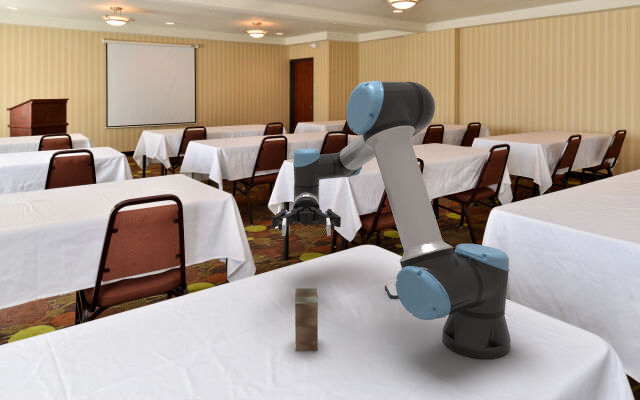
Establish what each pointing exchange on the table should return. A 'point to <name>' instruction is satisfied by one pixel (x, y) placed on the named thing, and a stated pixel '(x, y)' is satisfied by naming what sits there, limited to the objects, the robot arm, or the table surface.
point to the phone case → (391, 291)
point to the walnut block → (306, 319)
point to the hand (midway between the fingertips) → (306, 230)
